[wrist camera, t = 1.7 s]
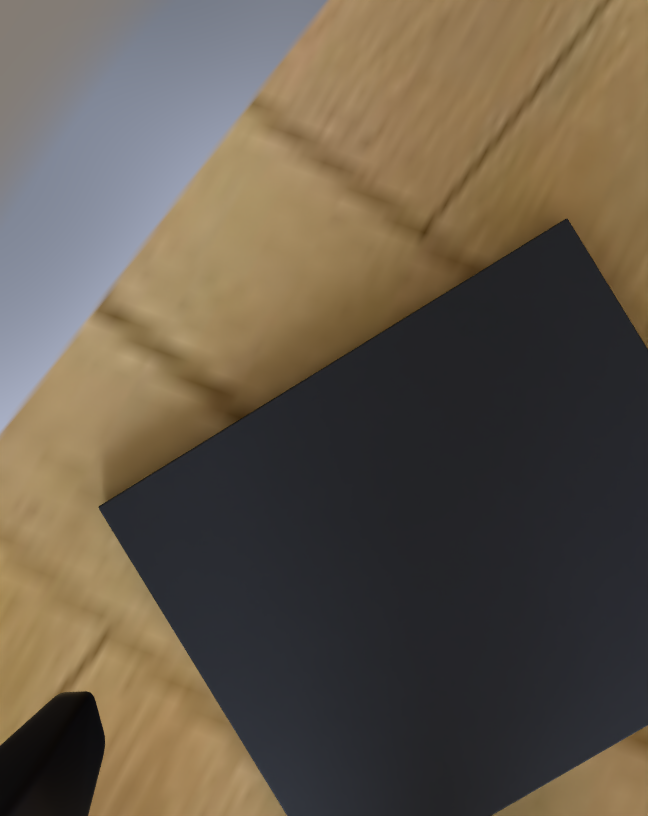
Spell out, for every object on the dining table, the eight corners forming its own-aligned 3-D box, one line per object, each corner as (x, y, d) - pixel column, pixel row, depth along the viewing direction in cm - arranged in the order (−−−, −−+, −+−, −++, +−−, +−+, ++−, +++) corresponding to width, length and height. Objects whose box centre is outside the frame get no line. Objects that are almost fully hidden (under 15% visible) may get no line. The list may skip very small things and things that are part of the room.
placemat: (807, 622, 22) (818, 627, 21) (340, 892, 22) (340, 903, 22) (562, 221, 21) (567, 217, 21) (102, 505, 22) (97, 507, 22)
